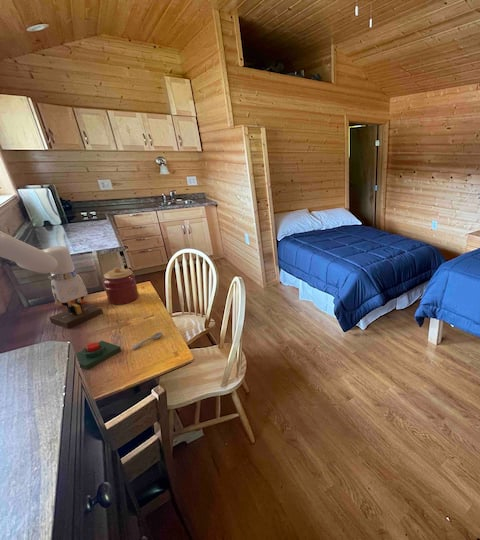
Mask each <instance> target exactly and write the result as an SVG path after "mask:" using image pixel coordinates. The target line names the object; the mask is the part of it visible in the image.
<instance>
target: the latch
mask: <svg viewBox="0 0 480 540" xmlns="http://www.w3.org/2000/svg"><path fill="white" fill-rule="evenodd" d="M71 304H72V306H74V308H75V311H76V314H78V315H79V314H81V313H82V310H81V307H80V305H77V304H74V303H71Z"/></svg>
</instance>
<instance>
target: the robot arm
mask: <svg viewBox="0 0 480 540" xmlns="http://www.w3.org/2000/svg"><path fill="white" fill-rule="evenodd" d="M0 258H2V259H5V260H9V261H11V262H14V263H15V264H16V265H17V266H18V267H19V268H21V269H24V270H27V271H32V272H34V273H38V274H50V276H47V278H48V280H51V281H50V282H51V283H50V285H51V291H52V295H53V298H54V299H53V300H54V305H55V306H65V307H66V308H67V310H68V311H69V313H72V314H76V311H75V308H74V306H72V304H71V301H72V300H74V301H75V302H74V304H77V305H80V307H81V310H82V306H81V303H82V300H83V298H85V297H87V296H88V295H89V293H88V290H87V287H86V285H85V283H84V281H83V278H81V276H80V274H78V273H77V272H76V269H75V264H74V262H73V259H72V256H71V251H70V249H69V248H68V247H66V246H63V245H56V246H50V247H47V248H44V249H39V248H37V247H35V246H33V245H32V244H29V243H27V242H25V241H22V240H20V239H18V238H16V237H14V236H12V235H10V234H7V233H5V232H3V231H2V230H0Z"/></svg>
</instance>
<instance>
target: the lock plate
mask: <svg viewBox="0 0 480 540" xmlns="http://www.w3.org/2000/svg"><path fill="white" fill-rule="evenodd" d="M81 306H82V313H81V314H79V315H78V314H72V313H69V311H68V309H67V310H64V311H62V312H59V313H57V314H54V315H51V316H49V317H48V319H49V321H50V324H52V325H56V326H59V327H62V328H65V329H67V330H69V329H72V328H75V327H76V326H78V325H80V324H83V323H86V322H88V321H90V320H93V319H94V318H97V317H99V316H102V315H104V312H103V309H102V307H98V306H95V305H92V304H88V303H84V304H82V305H81Z"/></svg>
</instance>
